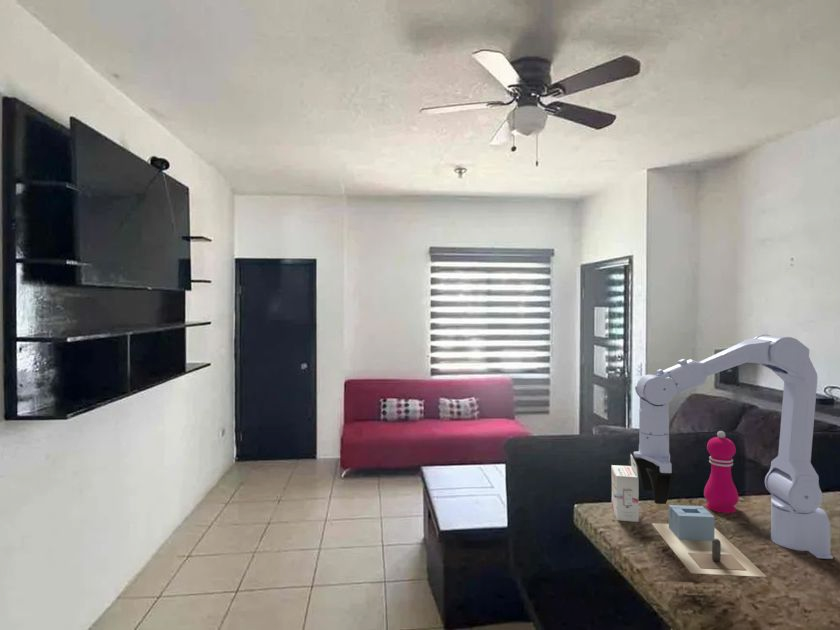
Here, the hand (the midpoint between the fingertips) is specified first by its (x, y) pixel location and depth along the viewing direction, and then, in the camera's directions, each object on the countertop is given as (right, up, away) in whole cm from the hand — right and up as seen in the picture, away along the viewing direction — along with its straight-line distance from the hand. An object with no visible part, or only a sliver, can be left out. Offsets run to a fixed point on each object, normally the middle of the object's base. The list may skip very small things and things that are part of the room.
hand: (654, 496), depth 111 cm
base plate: (+8, -10, -5) cm, 13 cm away
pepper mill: (+23, -10, +16) cm, 29 cm away
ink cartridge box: (-2, -10, +12) cm, 16 cm away
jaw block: (+8, -8, +1) cm, 12 cm away
